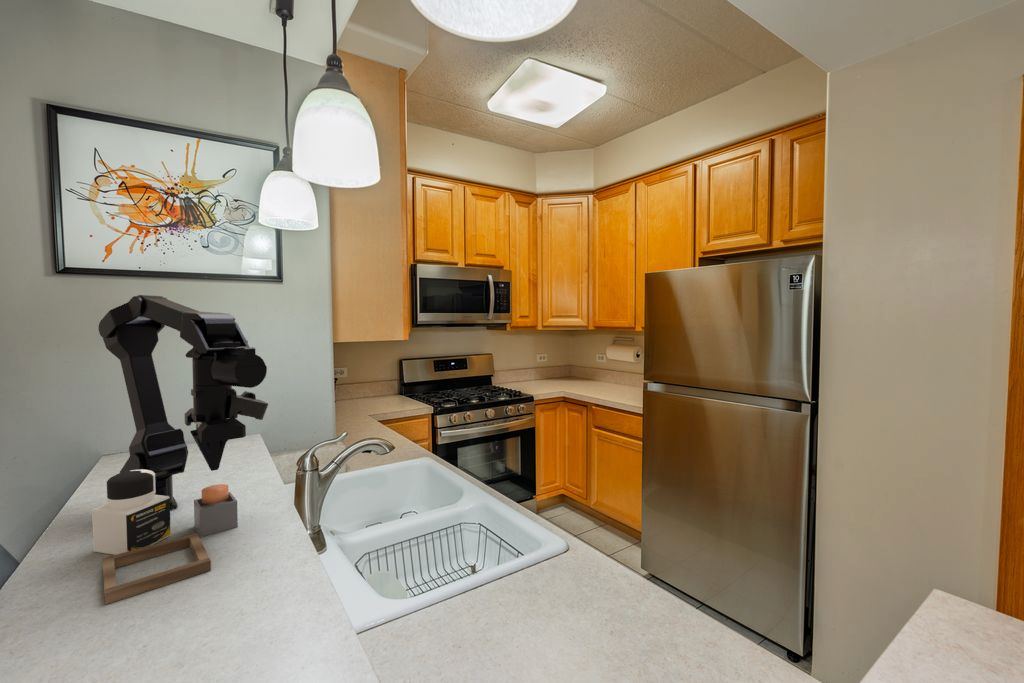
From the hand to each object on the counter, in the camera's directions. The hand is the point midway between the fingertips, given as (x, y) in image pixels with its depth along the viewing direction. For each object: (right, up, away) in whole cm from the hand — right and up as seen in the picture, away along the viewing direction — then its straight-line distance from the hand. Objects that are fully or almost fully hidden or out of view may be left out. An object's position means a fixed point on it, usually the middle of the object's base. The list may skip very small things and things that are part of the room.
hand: (214, 469), depth 79 cm
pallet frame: (0, -11, -13) cm, 17 cm away
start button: (0, -5, 0) cm, 5 cm away
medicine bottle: (-9, -11, -6) cm, 16 cm away
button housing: (0, -10, +1) cm, 10 cm away
